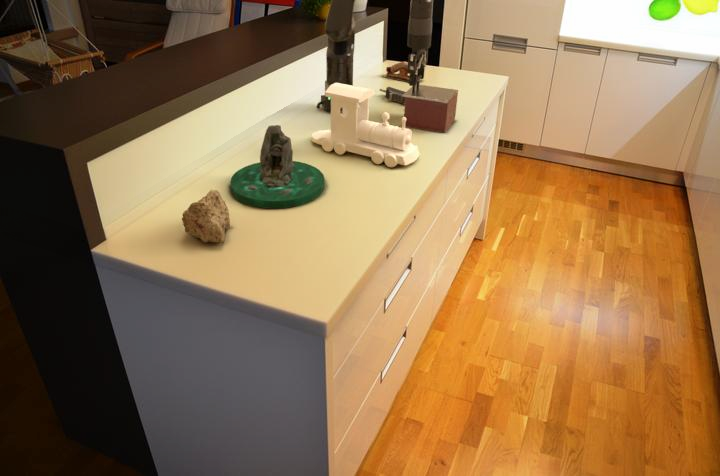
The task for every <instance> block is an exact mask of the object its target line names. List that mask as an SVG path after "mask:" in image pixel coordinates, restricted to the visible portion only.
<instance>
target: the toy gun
mask: <svg viewBox="0 0 720 476" xmlns="http://www.w3.org/2000/svg"><path fill="white" fill-rule="evenodd" d="M379 91H380V92H382V93H385V97H386V98H388V102H391V101H394V102H397V103H399V104H400V103H401V104H403V105H405V97H403V94H404V93H405V92H406V91H404V90H401V89H399V88H394V87H393V86H392V87H391V86H387V87H386V89H383V88H379Z"/></svg>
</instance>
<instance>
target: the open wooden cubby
mask: <svg viewBox="0 0 720 476" xmlns="http://www.w3.org/2000/svg"><path fill="white" fill-rule="evenodd" d="M458 95H459V92H458V93H457V94H456V95H455V96H454V97H453V98H452V99H451V100H450V101H449V102H448V103H443V102H436V101H430V100H423V99H416V98H409V97H405V104H404V111H403V113H404V114H403V117H406V119H407V120H406V123H405V127H406V128H407V127H408V128H413V129H420V130H425V131H431V132H437V133H443V134H445V133H446V132H447V131H448V130H449V128H450V127H451V126H452V125H453V124H454V122H455V121H456V113H457V105H458Z"/></svg>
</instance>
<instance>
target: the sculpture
mask: <svg viewBox="0 0 720 476" xmlns="http://www.w3.org/2000/svg"><path fill="white" fill-rule="evenodd" d="M388 65H390V62H388ZM407 67H408V61H400V62H398V63H394V64H392V65H390V66H386V74H385V75H383V76H382V77H384V78H388V79H392V80H398V81H403V82H408V83H409V78H410V74H409V73H407ZM412 70H413V68H412ZM421 81H423V79H420V80H419V82H421ZM416 84H417V82H416Z"/></svg>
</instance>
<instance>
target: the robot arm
mask: <svg viewBox="0 0 720 476" xmlns="http://www.w3.org/2000/svg"><path fill="white" fill-rule="evenodd" d="M355 2H356V0H330V4H329V9H328V13H327V16H326V20H325V22H324V31H325V34H326V35H327V47H326V53H325V54H326V55H325V58H326V59H325V61H326V67H325V68H326V71H325V72H326V80H325V81H324V92H325V91H326V90H327V89H328V88H329V86H330V85H332V84H334V83H341V84H346V85H351V86H354V55H355V54H354V53H355V42H356V40H355V39H356V21H355V18H354V15H353V14H354V7H355ZM433 9H434V0H410V4H409V19H408V23H407V42H406V46H407V47H408V48H410V49H411V50H412V51H411V53H408V55H407V63H408V67H407V73H408V75H409V76H410V78H409V82H408V85H409V86H410V87H412V86H415V85H416V84H417V83H416V80H417V74H418V73H419V74H421V75H422V78H421V79H420V80H424V78H425V69H426V66H427V64H428V57H429V48H431V46H432V33H433ZM412 68H413V70H412ZM321 106H322V107H323V109H325V110H327V111H328V113H331V98H330V97H326V96H325V94H324V95H323V94H322V95H320V101H319V102H318V103H317V104H316V108H317V110H320V109H321ZM342 110H343V107H342V108H341V109H340V113H341V114H342Z"/></svg>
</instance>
